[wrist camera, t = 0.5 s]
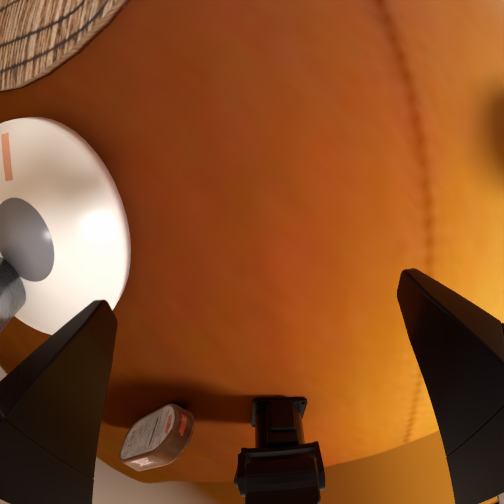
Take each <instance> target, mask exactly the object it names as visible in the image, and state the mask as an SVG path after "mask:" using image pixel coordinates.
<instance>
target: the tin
mask: <svg viewBox="0 0 504 504" xmlns="http://www.w3.org/2000/svg"><path fill="white" fill-rule="evenodd" d="M193 429H194V417H193V415H192V413H191V412H189V411H186V410H184V409H183V408H181V407H179V406H178V405H176V404H167V405H165V406H163V407H161V408H159V409H157V410H156V411H154V412H152V413H150V414H148V415H146V416H144V417H142V418H141V419H139V420H138V421H136V422H135V423H134V424H133V426H132V427H131V428H130V429H129V431H128V432H127V434H126V437H125V440H124V443H123V445H122V448H121V450H120V452H119V458H120V460H121V462H123V463H124V464H126V465H128V466H129V467H131V468H133V469H134V470H136V471H142V470H146V469H151V468H155V467H160V466H164V465H168V464H170V463H172V462H173V461H175V460H176V459H177V458H178V457H179V456H180V455H181V454H182V453H183V451H184V450H185V448H186V447H187V445H188V443H189V441H190V439H191V436H192V434H193Z"/></svg>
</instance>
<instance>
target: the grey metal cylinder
mask: <svg viewBox="0 0 504 504" xmlns="http://www.w3.org/2000/svg"><path fill="white" fill-rule="evenodd" d="M25 302H26V292H25V288H24V285H23V282H22V280H21V278H20V276H19V275H18V273H17V272H16V270H15V269H14V268H13V266H12V265H11V264H10V263H9V262H7V261H6V260H5V259H3V258H1V257H0V333H1V331H2V330H3V329H4V328H5V326H6V325H7V324H8V323H9V322H10V320H11V319H12V318H13V317H14V316H15V314H16V313H17V312H18V311H19V310H20V309H21V308H22V306H23V305H24V304H25Z"/></svg>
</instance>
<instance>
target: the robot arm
mask: <svg viewBox="0 0 504 504" xmlns="http://www.w3.org/2000/svg"><path fill="white" fill-rule="evenodd" d="M397 299H398V302H399V305H400V309H401V312H402V315H403V319H404V322H405V326H406V329H407V333H408V336H409V340H410V343H411V345H412V348H413V351H414V353H415V356H416V359H417V361H418V364H419V367H420V370H421V373H422V375H423V378H424V381H425V384H426V387H427V390H428V393H429V396H430V400H431V403H432V406H433V409H434V413H435V416H436V419H437V423H438V426H439V430H440V434H441V437H442V441H443V445H444V449H445V453H446V456H447V457H446V458H447V462H448V467H449V471H450V477H451V481H452V487H453V492H454V498H455V504H479V503H481V502H484V501H486V500H489V499H491V498H493V497H495V496H497V497H498V500H496V501H495V502H493V503H491V504H504V323H501V321H499V320H498V319H496V318H495V317H493V316H492V315H490V314H489V313H487V312H486V311H484V310H483V309H481V308H480V307H478V306H476V305H475V304H473V303H472V302H470V301H469V300H467V299H465V298H464V297H462V296H461V295H459V294H457V293H456V292H454V291H452V290H451V289H449V288H448V287H446V286H444V285H443V284H441V283H439V282H438V281H436V280H434V279H433V278H431V277H429V276H427V275H426V274H424V273H422V272H421V271H419V270H417V269H415V268H412V269H405V270H403V271H402V273H401V276H400V280H399V285H398V289H397ZM116 331H117V319H116V317H115V315H114V313H113V311H112V309H111V307H110V305H109V303H108V302H107V301H106V300H94V301H93V302H91V303H90V304H89V305H88V306H87V307H85V308H84V309H83V310H82V311H80V312H79V313H78V314H77V315H76V316H74V317H73V318H72V319H71V320H70V321H68V322H67V323H66V324H65V325H64V326H62V327H61V328H60V329H59V330H58V331H56V332H55V333H54V334H53V335H52V336H51V337H49V338H48V339H47V340H46V341H45V342H44V343H43V344H41V345H40V346H39V347H38V348H37V349H36V350H35V351H33V352H32V353H31V354H30V355H29V356H28V357H27V358H26V359H25V360H23V361H22V362H21V364H19V365H18V366H17V367H16V368H15V369H14V370H12V371H11V372H10V373H9V374H8V375H7V376H6V377H5V378H4V379H2V380H1V381H0V504H92V494H93V483H94V479H93V478H94V470H95V461H96V453H97V445H98V438H99V431H100V425H101V419H102V413H103V407H104V402H105V397H106V391H107V386H108V382H109V377H110V372H111V367H112V361H113V353H114V345H115V338H116ZM306 405H307V399H306V398H288V399H254V400H253V405H252V420H251V426H252V427H255V447H256V448H242V449H241V453H240V454H238V466H237V470H236V474H235V478H234V484H235V485H236V486H237V487H238V488H239V491H240V494H241V496H245V504H319V502H320V490H323V489H325V473H324V466H323V462H322V457H321V453H320V448H319V444H318V441H316V442H313V443H306V444H305V441H304V433H303V425H302V418H303V415H304V412H305V409H306Z"/></svg>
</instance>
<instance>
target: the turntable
mask: <svg viewBox="0 0 504 504" xmlns="http://www.w3.org/2000/svg"><path fill="white" fill-rule="evenodd" d="M0 257H1V258H3V259H5V260H6V261H7V262H9V263H10V264H11V265H12V266H13V268H14V269H15V270H16V272H17V273H18V275H19V276H20V278H21V280H22V282H23V285H24V288H25V292H26V302H25V304H24V305H23V306H22V308H21V309H20V310H19V311H18V312H17V313H16V314H15V317H16V318H18V319H19V320H21V321H22V322H24V323H25V324H27V325H29V326H31V327H32V328H34V329H37V330H39V331H41V332H44V333H47V334H51V335H53V334H54V333H55V332H56V331H58V330H59V329H60V328H61V327H62V326H64V325H65V324H66V323H67V322H68V321H70V320H71V319H72V318H73V317H74V316H76V315H77V314H78V313H79V312H80V311H82V310H83V309H84V308H85V307H87V306H88V305H89V304H90V303H91V302H93V301H94V300H106V301H107V302H108V303H109V305H110V307H111V309H112V311H113V309H114V307H115V306H116V304H117V302H118V301H119V299H120V297H121V295H122V293H123V291H124V289H125V286H126V283H127V280H128V276H129V270H130V263H131V242H130V231H129V226H128V221H127V216H126V212H125V209H124V206H123V202H122V199H121V197H120V194H119V192H118V189H117V187H116V184H115V182H114V180H113V178H112V176H111V175H110V173H109V171H108V169H107V167H106V166H105V164H104V163H103V161H102V160H101V158H100V157H99V155H98V154H97V153H96V152H95V150H94V149H93V148H92V147H91V146H90V145H89V144H88V142H87V141H86V140H85V139H83V138H82V137H81V136H80V135H79V134H78V133H77V132H75V131H74V130H72V129H71V128H69V127H68V126H66V125H64V124H62V123H60V122H57V121H55V120H53V119H48V118H43V117H26V118H20V119H14V120H10V121H6V122H3V123H1V124H0Z"/></svg>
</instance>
